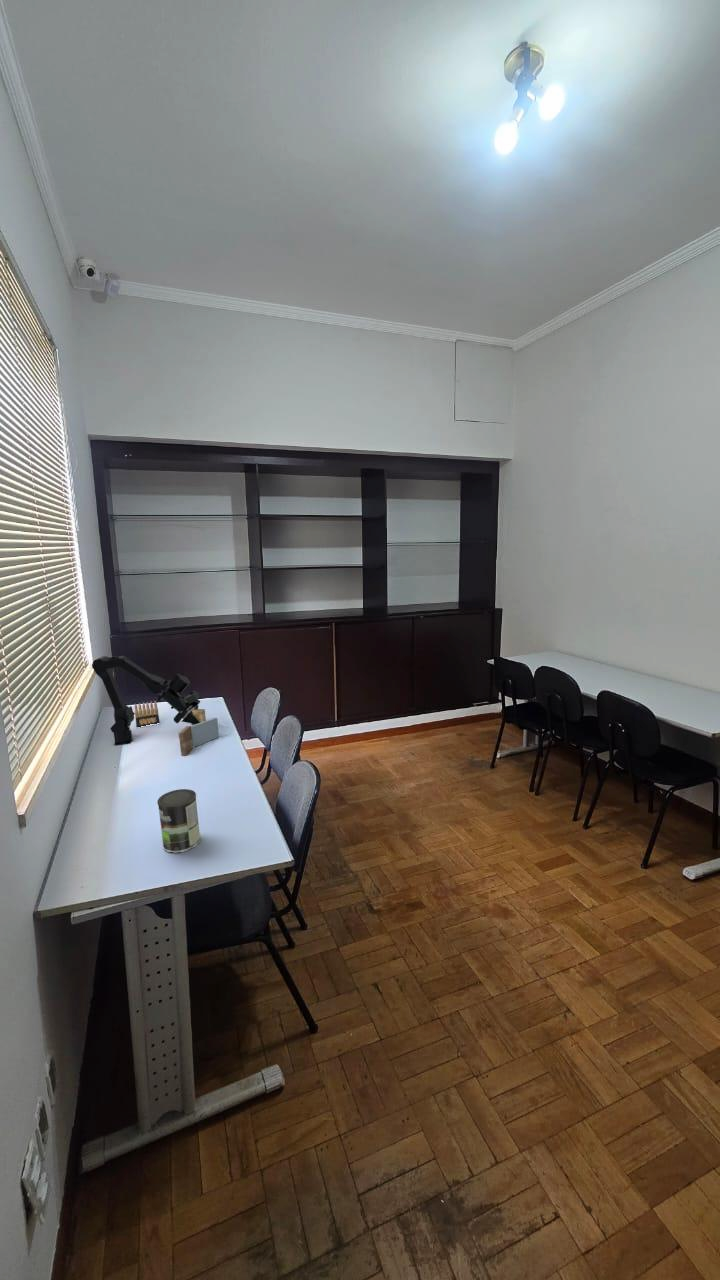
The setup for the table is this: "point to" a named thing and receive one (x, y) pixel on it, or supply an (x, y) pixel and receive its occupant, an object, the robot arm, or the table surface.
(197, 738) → the door
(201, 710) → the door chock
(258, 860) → the table surface
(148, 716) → the ammunition clip
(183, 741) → the partition wall
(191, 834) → the coffee can
